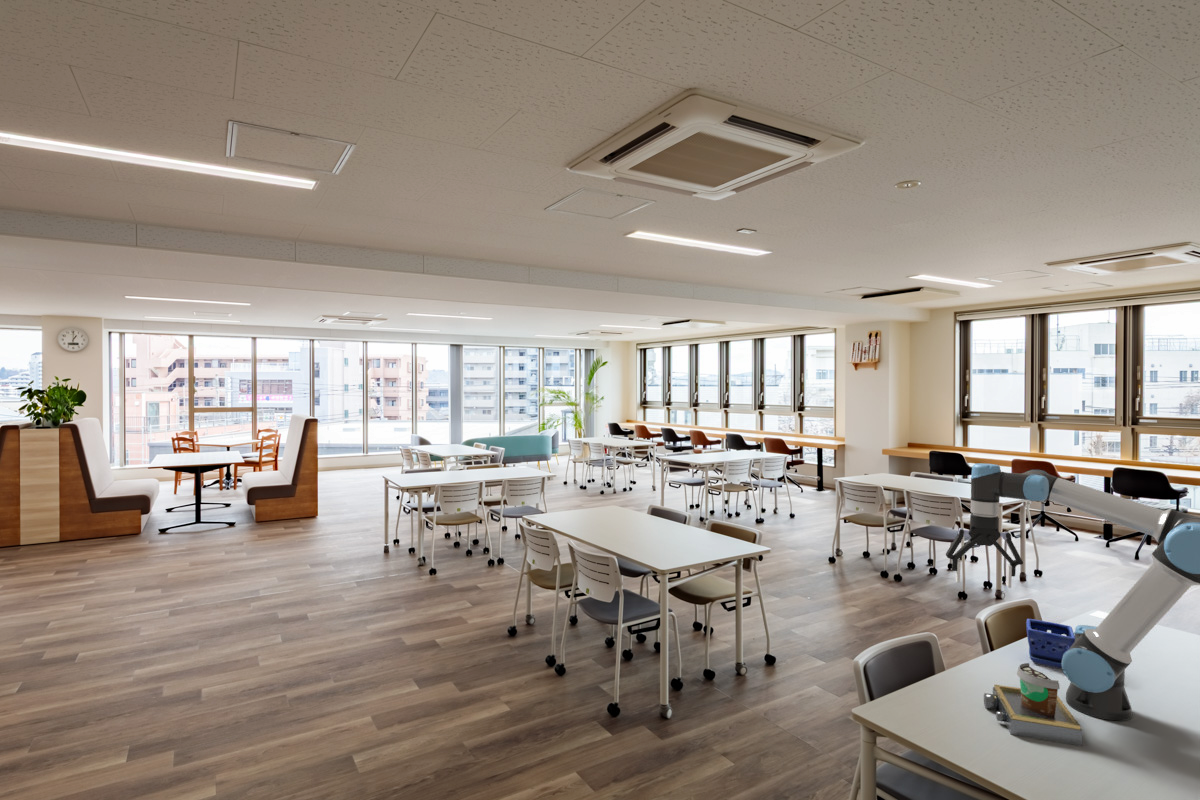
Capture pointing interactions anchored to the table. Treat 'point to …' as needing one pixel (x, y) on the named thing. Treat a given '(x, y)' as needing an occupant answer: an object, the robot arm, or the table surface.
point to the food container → (1037, 690)
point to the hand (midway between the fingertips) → (982, 584)
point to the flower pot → (1048, 642)
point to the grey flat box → (1033, 717)
